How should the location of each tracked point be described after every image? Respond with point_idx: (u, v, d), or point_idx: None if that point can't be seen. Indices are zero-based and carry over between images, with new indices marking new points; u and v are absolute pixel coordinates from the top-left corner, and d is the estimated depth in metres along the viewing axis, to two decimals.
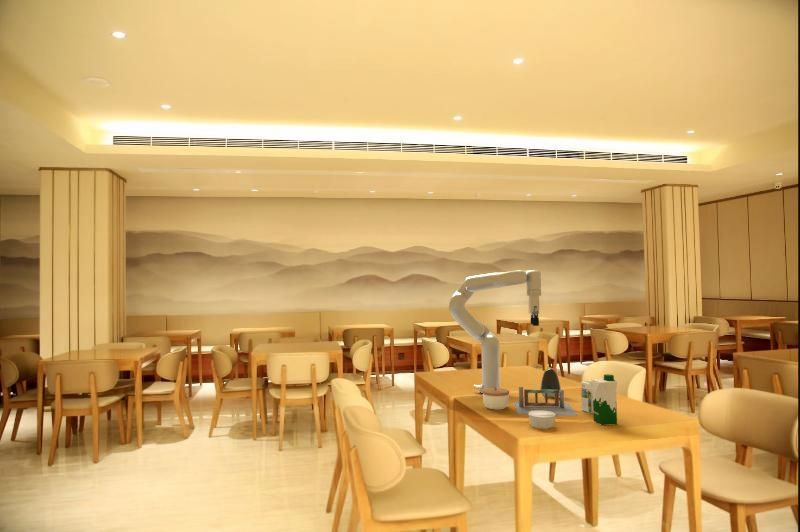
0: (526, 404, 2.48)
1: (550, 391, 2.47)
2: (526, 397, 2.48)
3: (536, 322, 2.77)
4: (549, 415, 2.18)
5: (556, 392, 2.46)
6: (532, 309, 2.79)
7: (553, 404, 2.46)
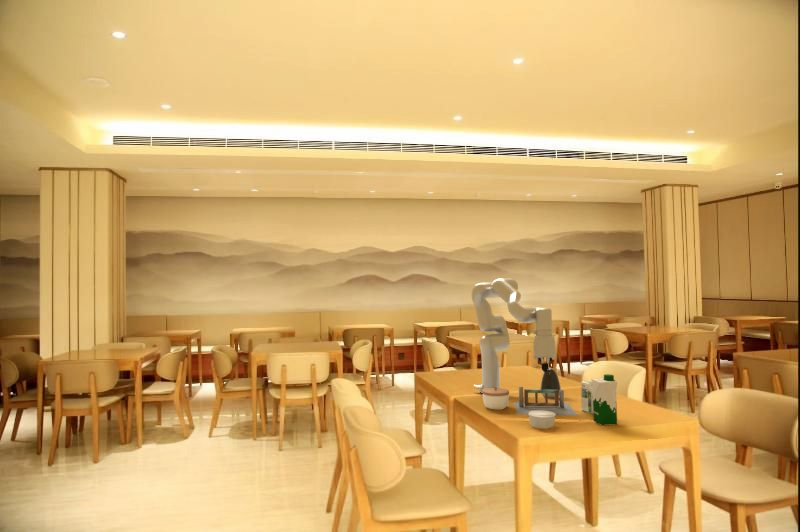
0: (526, 404, 2.48)
1: (550, 391, 2.47)
2: (526, 397, 2.48)
3: None
4: (549, 415, 2.18)
5: (556, 392, 2.46)
6: (555, 351, 2.52)
7: (553, 404, 2.46)
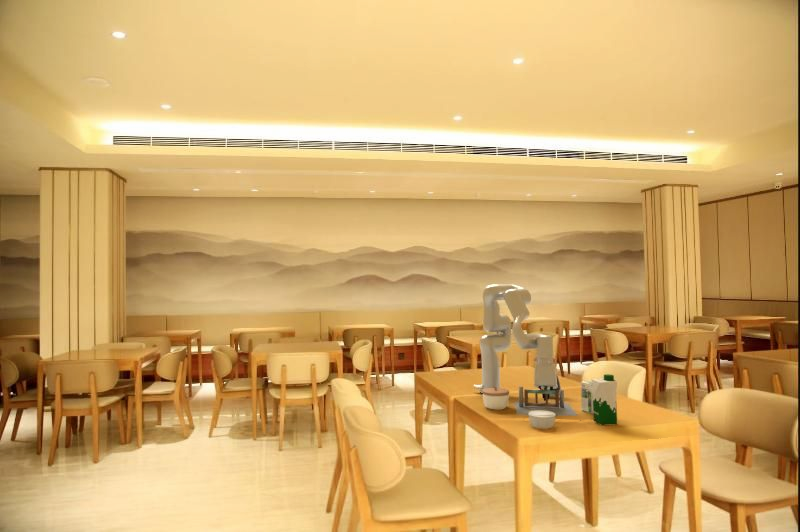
0: (526, 404, 2.48)
1: (550, 392, 2.45)
2: (526, 397, 2.48)
3: (549, 396, 2.48)
4: (549, 415, 2.18)
5: (556, 393, 2.44)
6: (556, 380, 2.45)
7: (553, 405, 2.45)
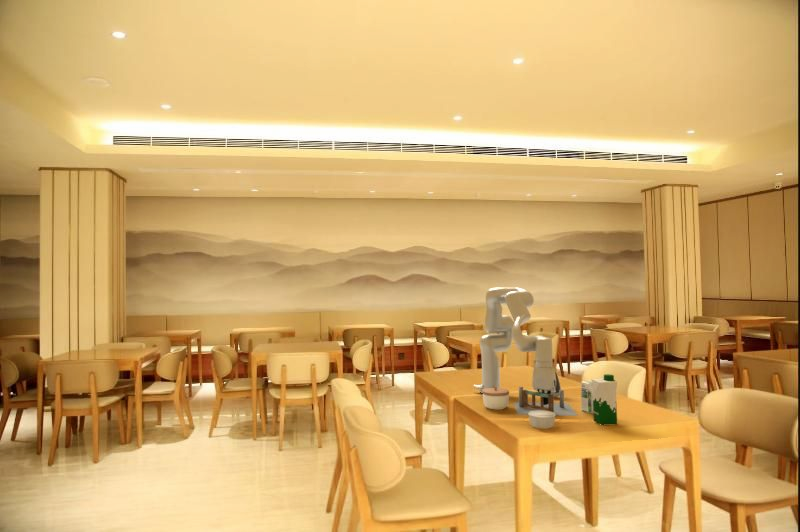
0: (524, 405, 2.47)
1: (544, 395, 2.38)
2: (524, 398, 2.47)
3: None
4: (549, 415, 2.18)
5: (549, 397, 2.36)
6: (553, 384, 2.37)
7: (547, 409, 2.37)
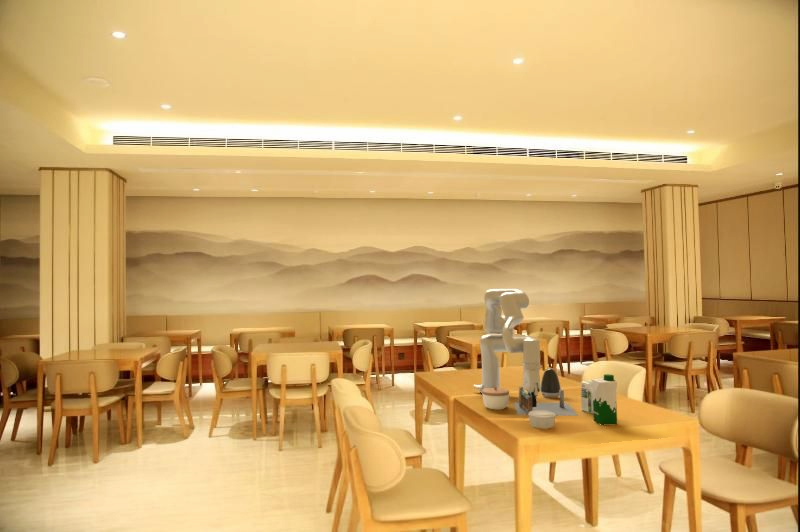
0: None
1: (527, 397, 2.36)
2: (520, 398, 2.47)
3: (534, 403, 2.36)
4: (549, 415, 2.18)
5: (528, 399, 2.33)
6: (532, 387, 2.33)
7: (528, 411, 2.34)
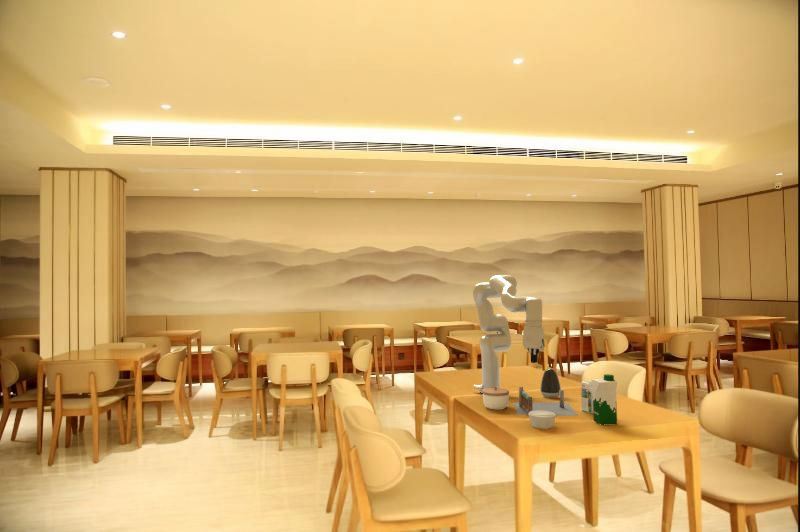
0: None
1: (527, 397, 2.36)
2: (520, 398, 2.47)
3: (537, 359, 2.49)
4: (549, 415, 2.18)
5: (528, 399, 2.33)
6: (540, 343, 2.45)
7: (528, 411, 2.34)
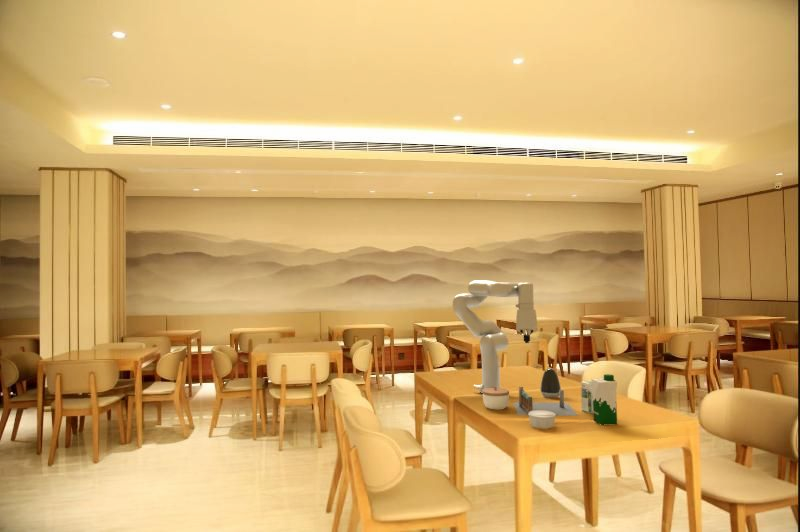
0: None
1: (527, 397, 2.36)
2: (520, 398, 2.47)
3: (529, 339, 2.68)
4: (549, 415, 2.18)
5: (528, 399, 2.33)
6: None
7: (528, 411, 2.34)
